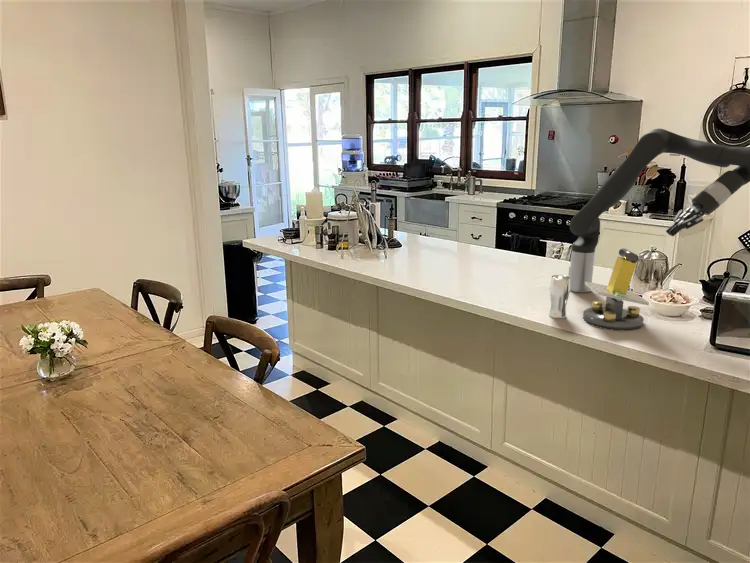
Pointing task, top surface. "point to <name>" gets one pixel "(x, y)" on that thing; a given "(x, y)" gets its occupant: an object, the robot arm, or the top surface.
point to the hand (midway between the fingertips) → (669, 233)
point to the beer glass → (559, 295)
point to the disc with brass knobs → (613, 315)
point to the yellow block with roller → (620, 279)
